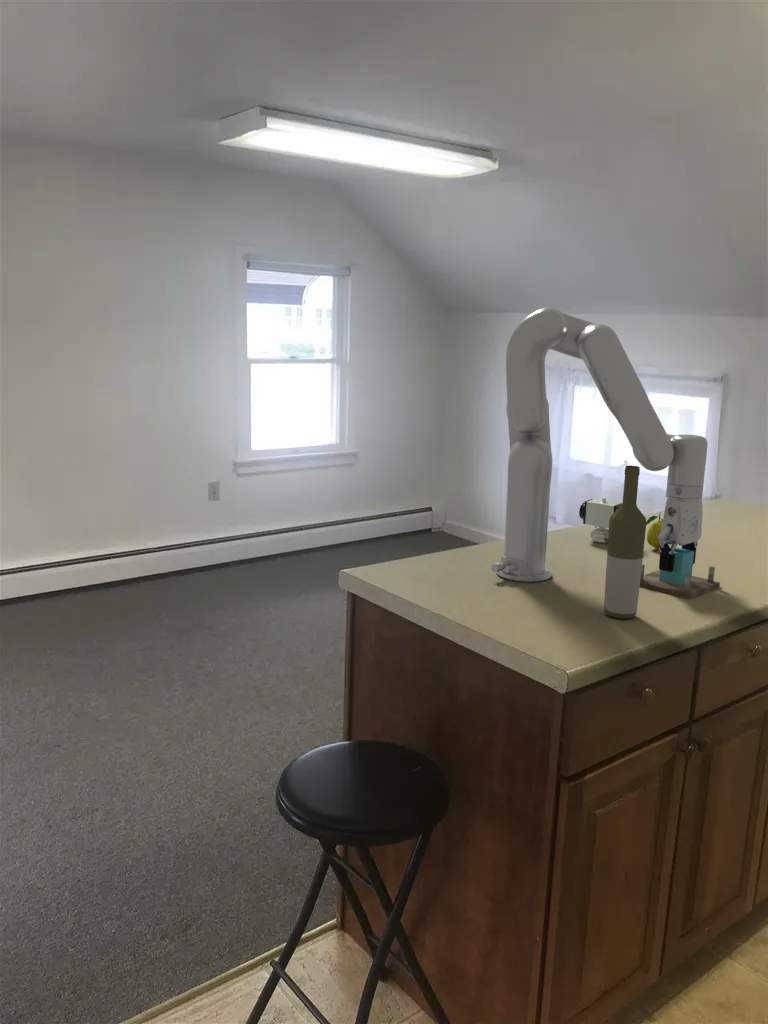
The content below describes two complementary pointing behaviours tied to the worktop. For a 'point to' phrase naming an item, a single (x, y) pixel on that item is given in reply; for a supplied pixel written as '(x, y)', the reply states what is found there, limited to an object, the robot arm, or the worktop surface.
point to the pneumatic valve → (598, 517)
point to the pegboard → (687, 590)
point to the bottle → (625, 552)
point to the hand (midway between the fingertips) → (676, 566)
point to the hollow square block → (679, 567)
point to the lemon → (654, 531)
